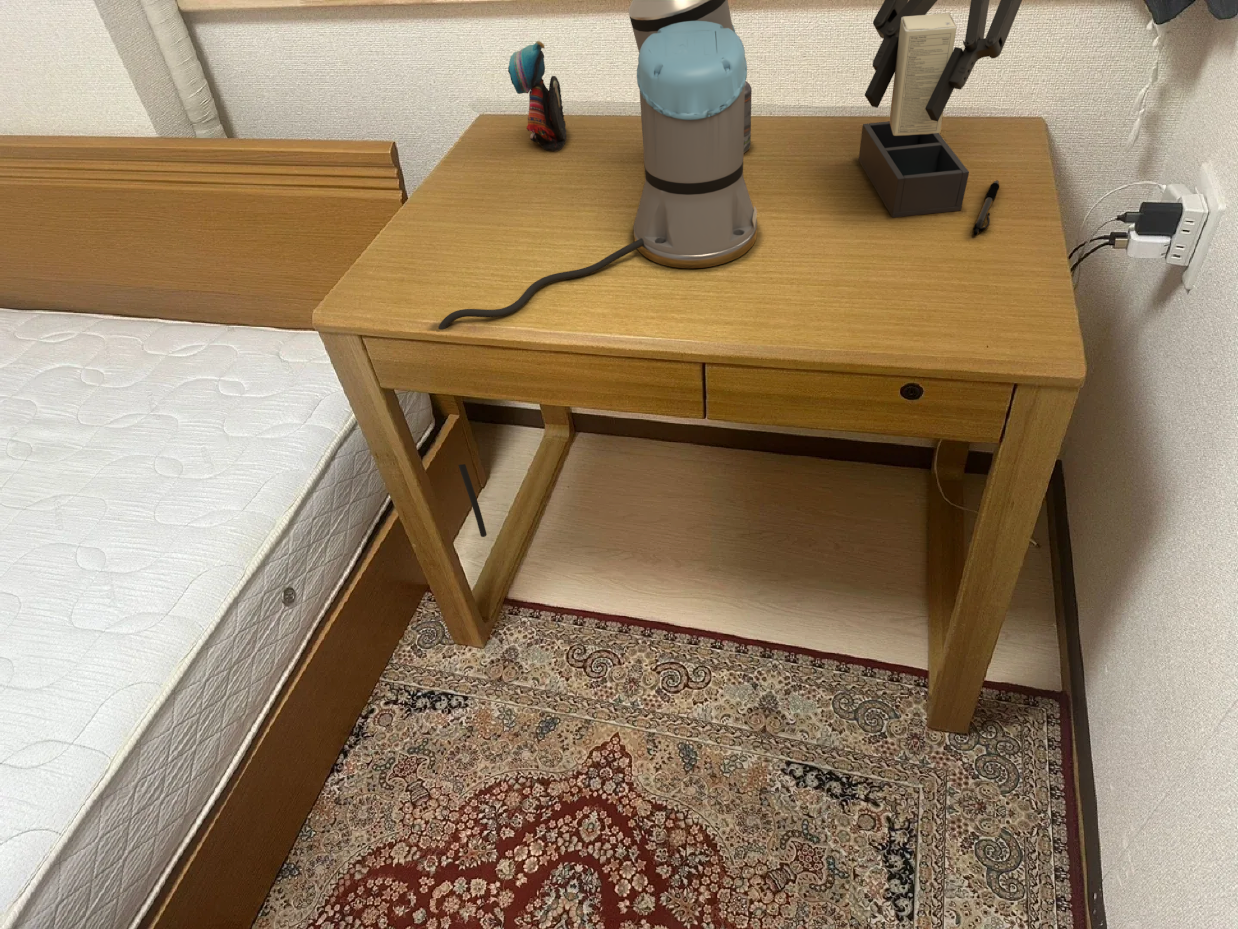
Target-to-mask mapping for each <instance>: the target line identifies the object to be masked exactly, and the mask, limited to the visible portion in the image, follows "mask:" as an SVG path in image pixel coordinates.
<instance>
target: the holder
mask: <svg viewBox="0 0 1238 929" xmlns="http://www.w3.org/2000/svg"><path fill="white" fill-rule="evenodd" d="M860 136H861V137H860V143H859V153H858V162H859V163H860V165H861V167H862V169H863V170H864V172H865V174H866V176H867V177H868V179H869V181H870V182H871V184H872V185H873V188H874V189H875V191H876V192H877V194H878V196H879V198H880V199H881V201H882V203H883V205H884V206H885V208H886V209H887V211H888V213H889V214H890V216H891V218H901V217H911V216H920V215H921V216H922V215H930V214H940V213H941V214H942V213H950V212H960V211H961V212H962V209H963V208H962V207H963V203H964V198H965V193H966V188H967V183H968V180H969V179H968V178H969V175H970V171H969V169H967V167H966V165H964V163H963V162H962V161H961V160H960V158H959V157H958V156H957V154H956V153H955V152H954V150H953V149H952V148H951V146H950V145H949V144H948V143H947V142H946V140H945V139H944V138H943V136H942V135H941V134H940V133H932V134H917V135H900V136H894V135H893V133H892V130H891V126H890V120H888V121H887V120H886V121H878V122H870V123H863V124H862V127H861V135H860Z"/></svg>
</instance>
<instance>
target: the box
mask: <svg viewBox="0 0 1238 929" xmlns="http://www.w3.org/2000/svg"><path fill="white" fill-rule="evenodd" d="M957 28H958V27H957V25H956V23H955V20H954V19H953V17H952V15H951V14H950V13H949V12H944V13H932V14H926V15H918V16H904V17H902V18H901V24H900V32H899V41H898V50H897V59H896V67H895V73H894V75H893V86H892V94H891V95H892V96H891V101H890V102H891V103H890V111H889V120H888V121H890V126H891V130H892V133H893V135H894V136H900V135H917V134H932V133H939V134H940V133H941V129H942V125H943V124H942V122H943V117H944V110H945V109H944V110H943V112H942V114H941V116H940V118H939V120H938V122H937V121H933V120H931V119H930V117H929V115H928V113H927V111H926V109H925V108H926V106H927V104H928V102H929V99H930V97H931V95H932V93H933V91H934V89H935V87H936V85H937V83H938V81H939V79H940V77H941V75H942V73H943V71H944V69H945V67H946V64H947V62H948V60H949V58H950V56H951V54H952V52H953V50H954V48H955V41H956V34H957Z"/></svg>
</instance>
